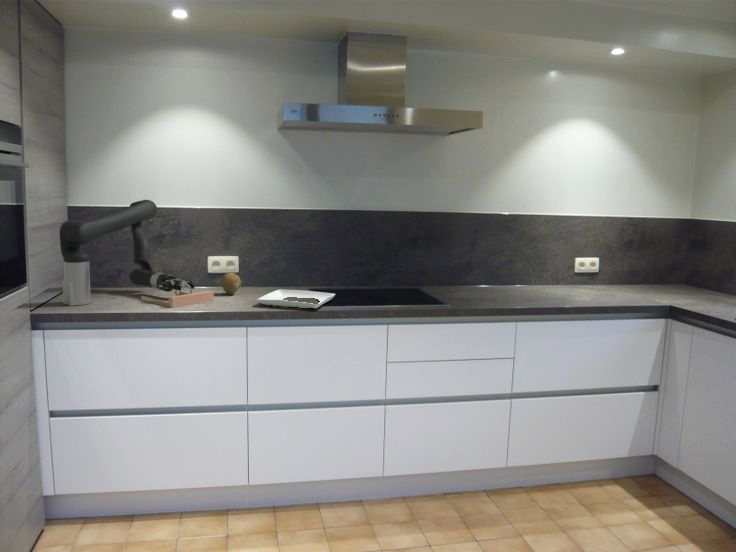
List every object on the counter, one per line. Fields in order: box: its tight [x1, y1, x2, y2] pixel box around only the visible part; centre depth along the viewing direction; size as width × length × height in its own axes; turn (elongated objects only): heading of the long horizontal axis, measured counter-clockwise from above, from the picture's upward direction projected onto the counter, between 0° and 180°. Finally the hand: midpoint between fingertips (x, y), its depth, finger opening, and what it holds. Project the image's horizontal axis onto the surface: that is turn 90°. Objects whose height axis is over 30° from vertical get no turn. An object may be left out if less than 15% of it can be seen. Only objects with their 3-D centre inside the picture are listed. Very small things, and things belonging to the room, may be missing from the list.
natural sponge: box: [220, 272, 242, 296], centre depth 271 cm, size 9×9×10 cm
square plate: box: [256, 289, 336, 309], centre depth 257 cm, size 27×27×4 cm
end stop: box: [168, 290, 215, 309], centre depth 248 cm, size 20×2×4 cm, turn 143°
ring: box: [174, 282, 193, 296], centre depth 251 cm, size 7×3×8 cm, turn 99°
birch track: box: [140, 290, 194, 308], centre depth 254 cm, size 20×20×2 cm
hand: (187, 287), depth 249 cm, fingers closed on ring, 6 cm apart
